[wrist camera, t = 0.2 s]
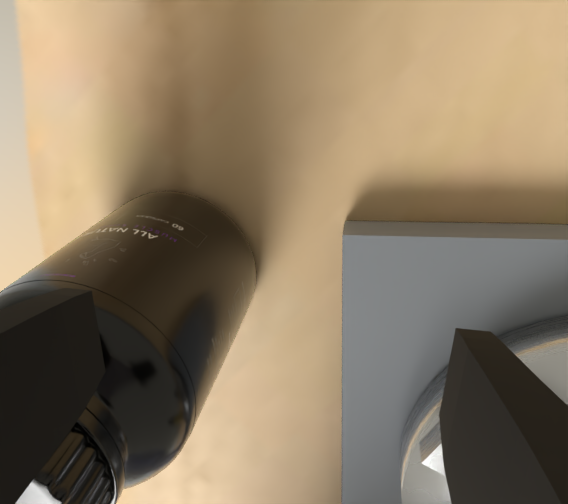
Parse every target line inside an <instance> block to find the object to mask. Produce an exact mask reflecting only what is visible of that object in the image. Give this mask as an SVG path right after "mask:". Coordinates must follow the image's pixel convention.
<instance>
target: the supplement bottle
mask: <svg viewBox="0 0 568 504" xmlns="http://www.w3.org/2000/svg"><path fill="white" fill-rule="evenodd" d="M255 285H256V266H255V261H254V257H253V253H252V250H251V248H250V245H249V243H248V241H247V239H246V238H245V236H244V234H243V233H242V231H241V230H240V229H239V227H238V226H237V225H236V224H235V223H234V221H233V220H232V219H231V218H230V217H229V216H227V215H226V214H225V213H224V212H223V211H221V210H220V209H219V208H217V207H216V206H214V205H213V204H211V203H209V202H207V201H205V200H203V199H201V198H198V197H196V196H193V195H190V194H185V193H181V192H173V191H163V192H153V193H148V194H145V195H142V196H139V197H137V198H135V199H133V200H131V201H129V202H127V203H126V204H124V205H123V206H121V207H120V208H118V209H117V210H115V211H114V212H112V213H111V214H109V215H108V216H107V217H105V218H104V219H102V220H101V221H99V222H98V223H97V224H95V225H94V226H92V227H91V228H90V229H88V230H87V231H85V232H84V233H83V234H81V235H80V236H78V237H77V238H75V239H74V240H73V241H71V242H70V243H68V244H67V245H66V246H64V247H63V248H61V249H60V250H59V251H57V252H56V253H54V254H53V255H52V256H50V257H49V258H47V259H46V260H44V261H43V262H42V263H40V264H39V265H37V266H36V267H35V268H33V269H32V270H30V271H29V272H28V273H26V274H25V275H23V276H22V277H21V278H19V279H18V280H16V281H15V282H13V283H12V284H11V285H9V286H8V287H6V288H5V289H4V290H2V291H1V292H0V310H2V309H4V308H7V307H10V306H12V305H15V304H17V303H20V302H23V301H25V300H28V299H31V298H33V297H36V296H39V295H42V294H45V293H48V292H51V291H55V290H58V289H62V288H72V289H82V290H91V291H92V295H93V301H94V306H95V312H96V318H97V324H98V330H99V336H100V341H101V347H102V353H103V359H104V365H105V371H106V372H105V374H104V375H103V377H102V379H101V381H100V383H99V385H98V387H97V389H96V391H95V392H94V394H93V396H92V398H91V400H90V401H89V403H88V405H87V406H86V408H85V410H84V412H83V413H82V415H81V416H80V418H79V419H78V420H77V422H76V423H75V425H74V426H73V427H72V429H71V430H70V431H69V433H68V434H67V435H66V437H65V438H64V439H63V441H62V442H61V443H60V445H59V446H58V448H57V449H56V450H55V452H54V453H53V454H52V455H51V457H50V458H49V459H48V461H47V462H46V463H45V465H44V466H43V467H42V469H41V470H40V471H39V473H38V474H37V475H36V477H35V478H34V479H33V481H32V482H31V483H30V485H29V486H28V487H27V489H26V490H25V491H24V493H23V494H22V495H21V497H20V498H19V499H18V501H17V502H16V503H15V504H116V503H117V501H118V499H119V497H120V495H121V493H122V490H123V489H126V488H130V487H133V486H136V485H138V484H140V483H143V482H145V481H147V480H148V479H150V478H152V477H154V476H155V475H157V474H158V473H160V472H161V471H162V470H164V469H165V468H166V467H167V466H168V465H169V464H170V463H171V462H172V461H173V460H174V459H175V458H176V457H177V456H178V454H179V453H180V452H181V450H182V448H183V447H184V445H185V443H186V441H187V439H188V438H189V436H190V434H191V432H192V430H193V428H194V426H195V423H196V421H197V419H198V417H199V415H200V413H201V410H202V408H203V406H204V404H205V402H206V400H207V397H208V395H209V393H210V391H211V389H212V387H213V384H214V382H215V380H216V378H217V376H218V374H219V371H220V369H221V367H222V365H223V363H224V360H225V358H226V356H227V354H228V352H229V350H230V347H231V345H232V343H233V341H234V339H235V337H236V334H237V332H238V330H239V328H240V326H241V324H242V321H243V319H244V317H245V315H246V312H247V310H248V308H249V305H250V303H251V300H252V298H253V294H254V290H255Z"/></svg>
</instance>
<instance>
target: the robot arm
mask: <svg viewBox="0 0 568 504" xmlns="http://www.w3.org/2000/svg"><path fill="white" fill-rule="evenodd" d="M105 372H106V371H105V365H104V359H103V353H102V347H101V341H100V336H99V330H98V324H97V318H96V312H95V306H94V301H93V295H92V291H91V290H82V289H72V288H62V289H58V290H55V291H51V292H48V293H45V294H42V295H39V296H36V297H33V298H31V299H28V300H25V301H23V302H20V303H17V304H15V305H12V306H10V307H7V308H4V309H2V310H0V504H15V503H16V502H17V501H18V499H19V498H20V497H21V495H22V494H23V493H24V491H25V490H26V489H27V487H28V486H29V485H30V483H31V482H32V481H33V479H34V478H35V477H36V475H37V474H38V473H39V471H40V470H41V469H42V467H43V466H44V465H45V463H46V462H47V461H48V459H49V458H50V457H51V455H52V454H53V453H54V452H55V450H56V449H57V448H58V446H59V445H60V443H61V442H62V441H63V439H64V438H65V437H66V435H67V434H68V433H69V431H70V430H71V429H72V427H73V426H74V425H75V423H76V422H77V420H78V419H79V418H80V416H81V415H82V413H83V412H84V410H85V408H86V406H87V405H88V403H89V401H90V400H91V398H92V396H93V394H94V392H95V391H96V389H97V387H98V385H99V383H100V381H101V379H102V377H103V375H104V374H105ZM439 419H440V432H441V444H442V454H443V464H444V470H445V475H446V480H447V485H448V489H449V494H450V499H451V504H568V405H567V404H566V403H565V402H564V401H562V400H561V399H560V398H559V397H558V396H557V395H556V394H555V393H554V392H553V391H552V390H551V389H550V388H549V387H548V386H547V385H546V384H544V383H543V382H542V381H541V380H540V379H539V378H538V377H537V376H536V375H535V374H534V373H533V372H532V371H531V370H530V369H529V368H528V367H527V366H526V365H525V364H524V363H523V362H522V361H521V360H520V359H519V358H518V357H517V356H516V355H515V354H514V353H513V352H512V351H511V350H510V349H509V348H508V347H507V346H506V345H505V344H504V343H503V342H502V341H501V340H500V339H498V338H497V337H496V336H495V335H494V334H493V333H492V332H491V331H481V330H471V329H461V328H456V329H455V334H454V339H453V345H452V350H451V355H450V360H449V366H448V371H447V376H446V381H445V387H444V392H443V397H442V402H441V407H440V413H439Z"/></svg>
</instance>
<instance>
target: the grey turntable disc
mask: <svg viewBox="0 0 568 504" xmlns="http://www.w3.org/2000/svg"><path fill="white" fill-rule="evenodd" d="M497 338H498V339H500V340H501V341H502V342H503V343H504V344H505V345H506V346H507V347H508V348H509V349H510V350H511V351H512V352H513V353H514V354H515V355H516V356H517V357H518V358H519V359H520V360H521V361H522V362H523V363H524V364H525V365H526V366H527V367H528V368H529V369H530V370H531V371H532V372H533V373H534V374H535V375H536V376H537V377H538V378H539V379H540V380H541V381H542V382H543V383H544V384H546V385H547V386H548V387H549V388H550V389H551V390H552V391H553V392H554V393H555V394H556V395H557V396H558V397H559V398H560V399H561V400H562V401H564V402H565V403H566V404H567V405H568V315H567V316H562V317H558V318H553V319H548V320H543V321H540V322H537V323H533V324H530V325H527V326H524V327H521V328H518V329H515V330H512V331H510V332H507V333H505V334H503V335H501V336H498V337H497ZM447 371H448V368H446V369H445V370H444V371H443V372H442V373H441V374H440V375H439V376H438V377H437V378H436V379H435V380H434V381H433V382H432V383H431V384H430V385H429V386H428V388H427V389H426V390H425V392H424V393H423V394H422V396H421V397H420V398H419V400H418V401H417V403H416V404H415V406H414V408H413V410H412V412H411V414H410V415H409V417H408V420H407V423H406V425H405V428H404V431H403V434H402V439H401V446H400V452H399V454H400V480H401V498H402V504H451V499H450V494H449V489H448V485H447V480H446V475H445V470H444V464H443V454H442V444H441V432H440V419H439V413H440V407H441V402H442V397H443V392H444V387H445V381H446V376H447Z"/></svg>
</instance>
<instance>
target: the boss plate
mask: <svg viewBox="0 0 568 504" xmlns="http://www.w3.org/2000/svg"><path fill="white" fill-rule="evenodd" d="M567 315H568V224H516V223H454V222H391V221H345V223H344V230H343V265H342V504H402V498H401V480H400V454H399V452H400V446H401V439H402V434H403V431H404V428H405V425H406V423H407V420H408V417H409V415H410V414H411V412H412V410H413V408H414V406H415V404H416V403H417V401H418V400H419V398H420V397H421V396H422V394H423V393H424V392H425V390H426V389H427V388H428V386H429V385H430V384H431V383H432V382H433V381H434V380H435V379H436V378H437V377H438V376H439V375H440V374H441V373H442V372H443V371H444V370H445V369H446V368H448V366H449V360H450V355H451V350H452V345H453V339H454V334H455V329H456V328H461V329H471V330H481V331H491V332H492V333H493V334H494V335H495V336H496V337H498V336H501V335H503V334H505V333H507V332H510V331H512V330H515V329H518V328H521V327H524V326H527V325H530V324H533V323H537V322H540V321H543V320H548V319H553V318H558V317H562V316H567Z"/></svg>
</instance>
